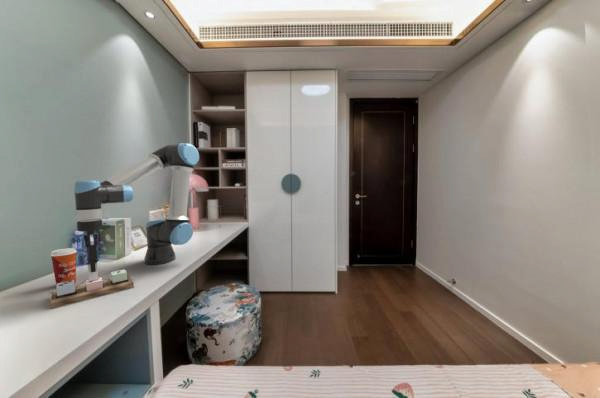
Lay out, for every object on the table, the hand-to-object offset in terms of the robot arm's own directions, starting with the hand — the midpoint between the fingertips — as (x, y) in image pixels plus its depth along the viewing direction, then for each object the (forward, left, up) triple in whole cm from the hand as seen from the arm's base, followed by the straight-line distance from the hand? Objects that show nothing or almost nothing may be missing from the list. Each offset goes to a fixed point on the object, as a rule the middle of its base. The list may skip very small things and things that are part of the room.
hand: (93, 279), depth 96 cm
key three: (+8, 0, -3) cm, 8 cm away
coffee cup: (+8, -19, -6) cm, 21 cm away
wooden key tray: (0, 0, -5) cm, 5 cm away
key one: (-8, 0, -3) cm, 8 cm away
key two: (0, 0, -4) cm, 4 cm away
